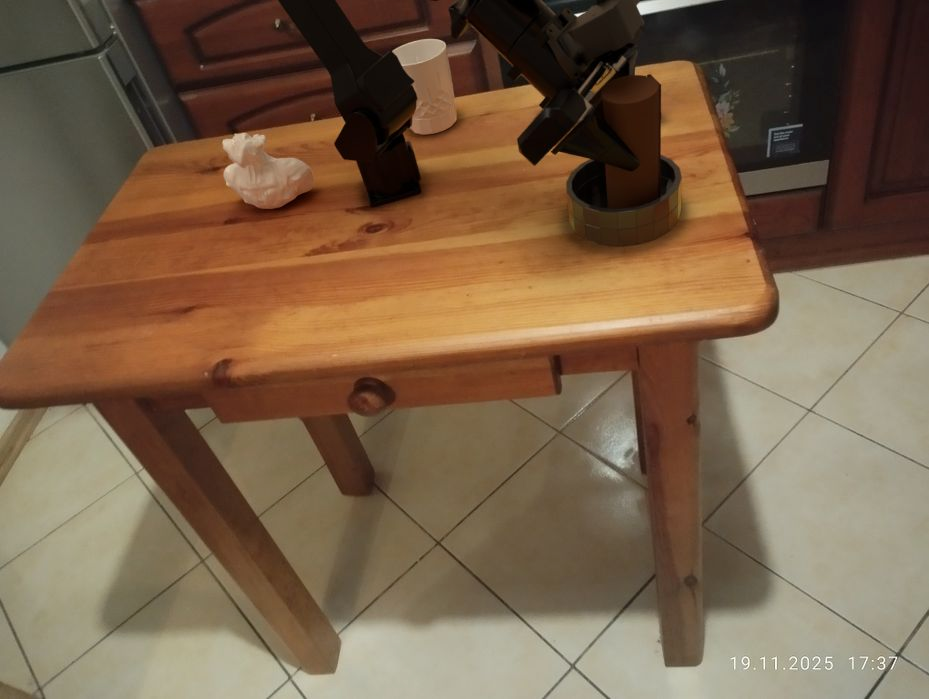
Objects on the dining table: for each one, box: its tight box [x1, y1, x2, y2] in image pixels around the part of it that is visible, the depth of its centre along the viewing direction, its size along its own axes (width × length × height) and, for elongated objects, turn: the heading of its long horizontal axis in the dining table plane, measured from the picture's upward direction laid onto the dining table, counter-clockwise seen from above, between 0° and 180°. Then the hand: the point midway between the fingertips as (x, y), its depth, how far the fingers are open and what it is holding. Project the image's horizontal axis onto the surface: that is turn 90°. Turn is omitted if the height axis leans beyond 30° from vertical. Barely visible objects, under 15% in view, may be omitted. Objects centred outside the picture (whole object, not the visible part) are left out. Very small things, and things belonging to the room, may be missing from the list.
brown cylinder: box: [601, 73, 662, 209], centre depth 65 cm, size 5×5×13 cm
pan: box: [565, 154, 683, 247], centre depth 69 cm, size 11×11×4 cm
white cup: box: [392, 38, 458, 136], centre depth 91 cm, size 8×8×10 cm
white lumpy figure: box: [221, 132, 315, 210], centre depth 84 cm, size 12×8×11 cm
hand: (646, 151), depth 64 cm, fingers closed on brown cylinder, 5 cm apart
